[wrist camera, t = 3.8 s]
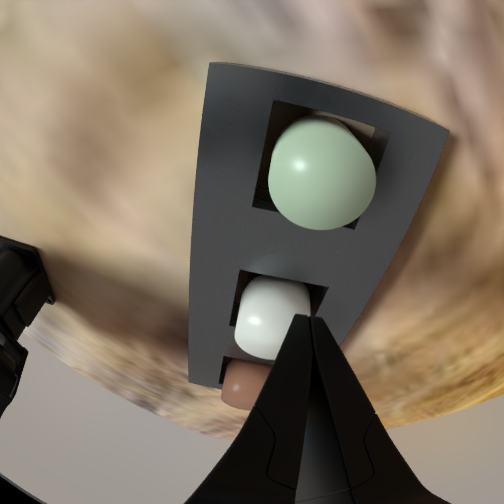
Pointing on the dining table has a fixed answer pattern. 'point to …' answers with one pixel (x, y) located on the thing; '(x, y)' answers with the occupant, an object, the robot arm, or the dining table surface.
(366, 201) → the sage button
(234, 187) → the button panel
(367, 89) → the dining table surface
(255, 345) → the white button
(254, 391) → the terracotta button
